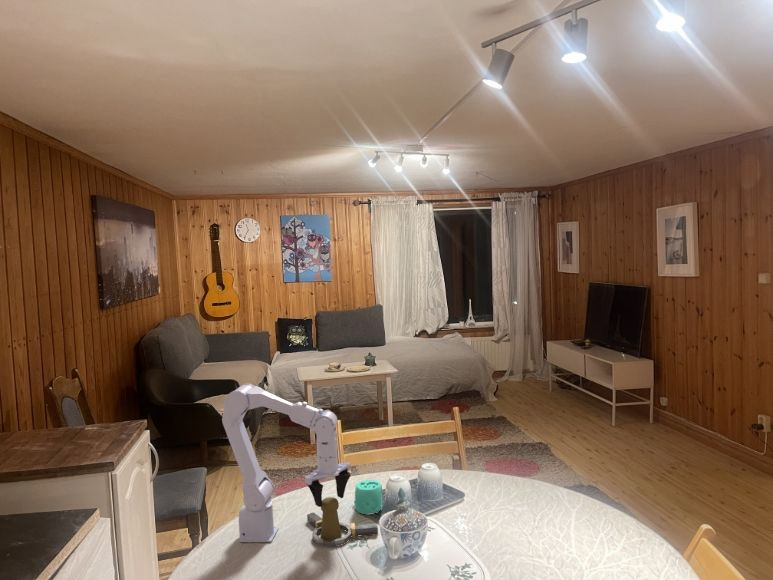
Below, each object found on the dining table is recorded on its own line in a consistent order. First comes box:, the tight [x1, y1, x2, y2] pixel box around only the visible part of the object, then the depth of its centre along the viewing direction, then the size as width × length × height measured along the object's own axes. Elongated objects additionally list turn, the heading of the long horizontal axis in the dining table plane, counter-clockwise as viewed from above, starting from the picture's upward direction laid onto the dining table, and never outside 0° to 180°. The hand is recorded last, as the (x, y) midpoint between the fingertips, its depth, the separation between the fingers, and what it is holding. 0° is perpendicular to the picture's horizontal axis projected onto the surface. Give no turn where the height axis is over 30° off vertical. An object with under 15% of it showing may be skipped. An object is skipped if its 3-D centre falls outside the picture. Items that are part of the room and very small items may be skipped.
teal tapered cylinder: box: [354, 479, 383, 515], centre depth 177 cm, size 8×8×8 cm
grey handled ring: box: [306, 512, 379, 548], centre depth 163 cm, size 22×16×3 cm
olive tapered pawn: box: [320, 496, 343, 540], centre depth 161 cm, size 6×6×11 cm
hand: (329, 501), depth 161 cm, fingers open, 7 cm apart
